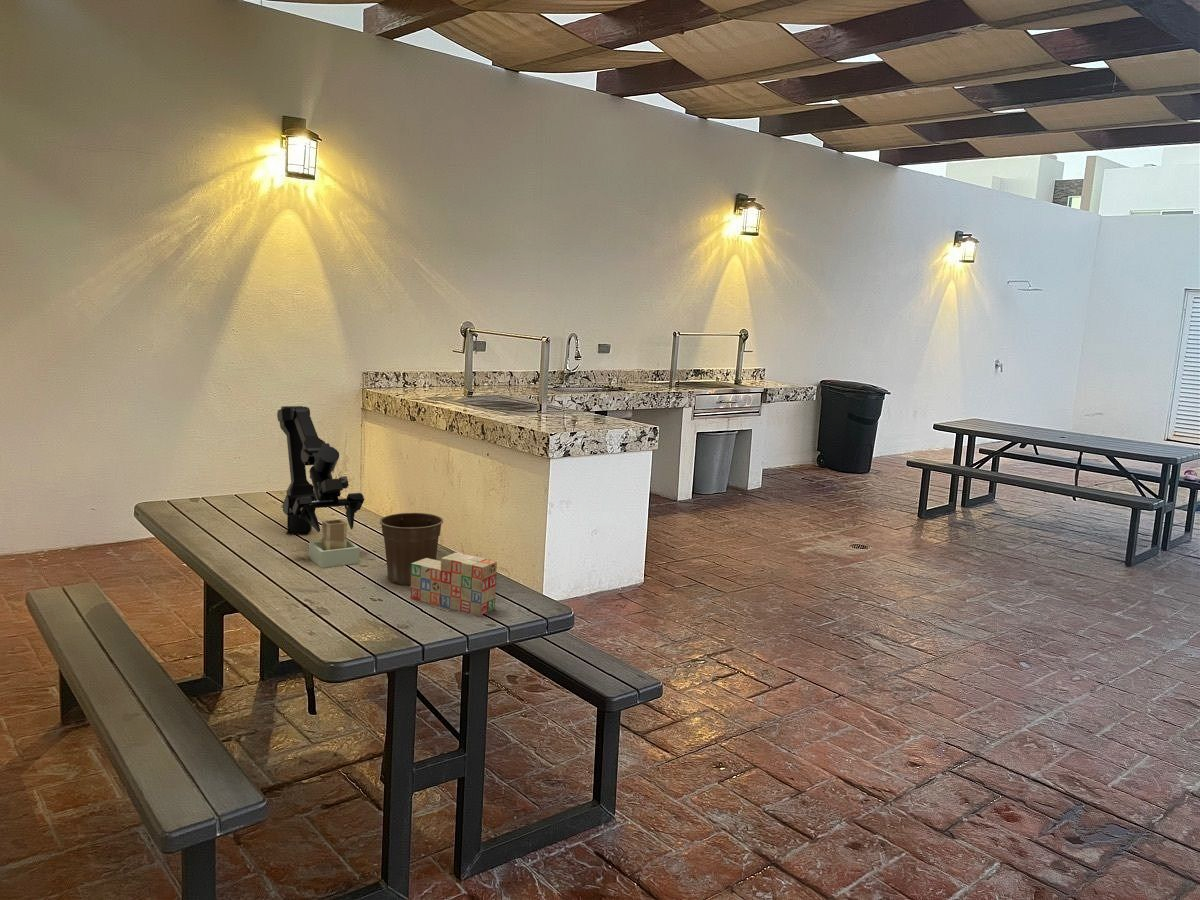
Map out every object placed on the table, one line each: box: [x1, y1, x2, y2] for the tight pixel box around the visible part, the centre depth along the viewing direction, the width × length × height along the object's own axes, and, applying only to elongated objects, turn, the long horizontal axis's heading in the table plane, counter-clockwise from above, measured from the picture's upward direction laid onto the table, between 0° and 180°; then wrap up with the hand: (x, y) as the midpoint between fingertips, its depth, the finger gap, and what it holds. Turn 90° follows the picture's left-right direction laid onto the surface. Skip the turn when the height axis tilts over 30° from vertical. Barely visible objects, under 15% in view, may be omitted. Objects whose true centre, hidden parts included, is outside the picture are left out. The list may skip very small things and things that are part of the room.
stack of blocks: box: [410, 552, 498, 617], centre depth 224 cm, size 21×6×12 cm, turn 62°
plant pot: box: [379, 512, 444, 586], centre depth 241 cm, size 16×16×16 cm
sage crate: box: [308, 538, 360, 569], centre depth 255 cm, size 11×11×4 cm
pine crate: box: [321, 519, 348, 551], centre depth 254 cm, size 5×5×10 cm
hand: (335, 529), depth 253 cm, fingers open, 9 cm apart
